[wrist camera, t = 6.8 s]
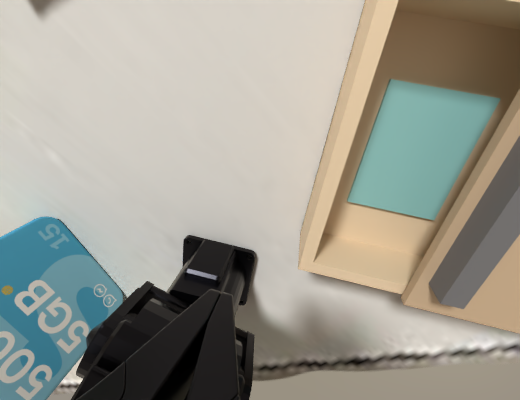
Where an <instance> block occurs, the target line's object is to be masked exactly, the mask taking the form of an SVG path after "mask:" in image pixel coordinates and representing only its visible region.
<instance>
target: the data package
mask: <svg viewBox="0 0 520 400" xmlns="http://www.w3.org/2000/svg"><path fill="white" fill-rule="evenodd" d="M122 303H123V295H122V292H121V290H120V288H119V287H118V286H117V285H116V284H115V283H114V281H113V280H112V279H111V278H110V277H109V276H108V275H107V273H106V272H105V271H104V270H103V269H102V268H101V267H100V265H99V264H98V263H97V262H96V261H95V260H94V258H93V257H92V256H91V255H90V254H89V253H88V252H87V250H86V249H85V248H84V247H83V246H82V245H81V243H80V242H79V241H78V240H77V239H76V238H75V237H74V235H73V234H72V233H71V232H70V231H69V230H68V229H67V227H66V226H65V225H64V224H63V223H62V222H61V221H59V220H58V219H55V218H52V217H40V218H37V219H34V220H32V221H31V222H29V223H27V224H25V225H23V226H21V227H19V228H17V229H15V230H13V231H11V232H9V233H7V234H6V235H4V236H2V237H0V400H46V399H47V398H48V397H49V396H50V395H51V393H52V392H53V391H54V390H55V388H56V387H57V386H58V385H59V383H60V382H61V381H62V380H63V379H64V377H65V376H66V375H67V374H68V372H69V371H70V370H71V369H72V368H73V366H74V365H75V364H76V363H77V361H78V360H79V359H80V358H81V356H82V355H83V354H84V353H85V351H86V349H87V344H86V337H87V336H88V334H89V333H90V331H91V330H92V329H93V328H94V327H96V326H97V325H99V324H100V323H101V322H103V321H104V320H106V319H107V318H108V317H109V316H110V315H111V314H112V313H113V312H114V311H115V310H116V309H117V308H118V307H119V306H120V305H121V304H122Z"/></svg>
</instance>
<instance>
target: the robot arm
mask: <svg viewBox="0 0 520 400" xmlns="http://www.w3.org/2000/svg"><path fill="white" fill-rule="evenodd" d="M188 240H190V241H191V242H189V241H188ZM248 255H251V256H252V257H249V256H248ZM254 261H255V252H254V251H252V250H249V249H245V248H241V247H237V246H232V245H228V244H224V243H220V242H216V241H212V240H208V239H204V238H199V237H195V236H191V235H188V236H187V237H186V238H185V239H184V244H183V268H182V270H181V271H180V273H179V274H178V276H177V277H176V279H175V280H174V282H173V283H172V285H171V286H170V288H169V289H168V291H167V292H165V291H163V290H161V289H159V288H157V287H155V286H154V284H152V283H150V282H148V281H147V282H146V283H145V284H144V285H143V286H142V287H141V288H137V289H136V290H135V291H134V292H133V293H132V294H131V295H130V296H129V297H128V298H127V299H126V300H125V301H124V302H123V303H122V304H121V305H120V306H119V307H118V308H117V309H116V310H115V311H114V312H113V313H112V314H111V315H110V316H109V317H108V318H107V319H106V320H104V321H103V322H101V323H100V324H99V325H97V326H96V327H94V328H93V329H92V330H91V331H90V333H89V334H88V336H87V337H86V344H87V349H86V351H85V353H84V356H83V358H82V360H81V362H80V364H79V366H78V369H77V371H76V375H77V376H79V377H81V378H83V380H82V382H81V384H80V385H79V387H78V389H77V390H76V392H75V394H74V395H73V397H72V399H71V400H249V397H250V392H251V387H252V375H253V353H254V334H252V333H250V332H248V331H247V332H245V331H243V330H241V329H239V328H237V327H235V320H234V317H235V314H236V311H237V308H238V305H245V304H246V302H247V297H248V292H249V287H250V282H251V276H252V271H253V266H254Z"/></svg>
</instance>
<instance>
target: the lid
mask: <svg viewBox="0 0 520 400" xmlns="http://www.w3.org/2000/svg"><path fill="white" fill-rule="evenodd" d="M401 299H402V302H403V304H404V305H407V306H411V307H415V308H419V309H423V310H427V311H431V312H435V313H439V314H443V315H447V316H451V317H455V318H459V319H463V320H467V321H471V322H475V323H479V324H483V325H487V326H491V327H495V328H499V329H503V330H507V331H511V332H515V333H519V334H520V89H519V91H518V92H517V94H516V96H515V98H514V99H513V101H512V103H511V105H510V106H509V108H508V110H507V112H506V113H505V115H504V117H503V119H502V120H501V122H500V124H499V126H498V127H497V129H496V131H495V133H494V135H493V136H492V138H491V140H490V142H489V143H488V145H487V147H486V149H485V150H484V152H483V154H482V156H481V157H480V159H479V161H478V163H477V164H476V166H475V168H474V170H473V171H472V173H471V175H470V177H469V178H468V180H467V182H466V184H465V185H464V187H463V189H462V191H461V192H460V194H459V196H458V198H457V199H456V201H455V203H454V205H453V206H452V208H451V210H450V212H449V213H448V215H447V217H446V219H445V220H444V222H443V224H442V226H441V228H440V229H439V231H438V233H437V235H436V236H435V238H434V240H433V242H432V243H431V245H430V247H429V249H428V250H427V252H426V254H425V256H424V257H423V259H422V261H421V263H420V264H419V266H418V268H417V270H416V271H415V273H414V275H413V277H412V278H411V280H410V282H409V284H408V285H407V287H406V289H405V291H404V292H403V294H402V296H401Z"/></svg>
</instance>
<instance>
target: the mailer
mask: <svg viewBox="0 0 520 400" xmlns="http://www.w3.org/2000/svg"><path fill="white" fill-rule="evenodd" d="M519 89H520V0H365V3H364V7H363V10H362V14H361V17H360V21H359V25H358V28H357V32H356V35H355V39H354V42H353V46H352V50H351V53H350V57H349V60H348V64H347V68H346V71H345V75H344V78H343V82H342V85H341V89H340V93H339V96H338V100H337V103H336V107H335V111H334V114H333V118H332V121H331V125H330V128H329V132H328V136H327V139H326V143H325V146H324V150H323V154H322V157H321V161H320V164H319V168H318V171H317V175H316V179H315V182H314V186H313V189H312V193H311V197H310V200H309V204H308V207H307V211H306V214H305V218H304V222H303V225H302V229H301V232H300V247H299V263H298V269H300V270H304V271H308V272H312V273H316V274H320V275H324V276H329V277H333V278H337V279H341V280H345V281H349V282H353V283H357V284H361V285H365V286H369V287H373V288H377V289H382V290H386V291H390V292H394V293H398V294H403V292H404V291H405V289H406V287H407V285H408V284H409V282H410V280H411V278H412V277H413V275H414V273H415V271H416V270H417V268H418V266H419V264H420V263H421V261H422V259H423V257H424V256H425V254H426V252H427V250H428V249H429V247H430V245H431V243H432V242H433V240H434V238H435V236H436V235H437V233H438V231H439V229H440V228H441V226H442V224H443V222H444V220H445V219H446V217H447V215H448V213H449V212H450V210H451V208H452V206H453V205H454V203H455V201H456V199H457V198H458V196H459V194H460V192H461V191H462V189H463V187H464V185H465V184H466V182H467V180H468V178H469V177H470V175H471V173H472V171H473V170H474V168H475V166H476V164H477V163H478V161H479V159H480V157H481V156H482V154H483V152H484V150H485V149H486V147H487V145H488V143H489V142H490V140H491V138H492V136H493V135H494V133H495V131H496V129H497V127H498V126H499V124H500V122H501V120H502V119H503V117H504V115H505V113H506V112H507V110H508V108H509V106H510V105H511V103H512V101H513V99H514V98H515V96H516V94H517V92H518V91H519Z"/></svg>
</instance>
